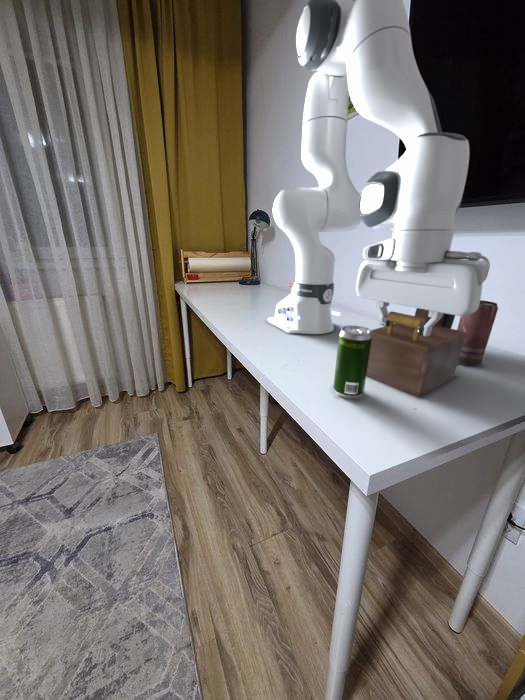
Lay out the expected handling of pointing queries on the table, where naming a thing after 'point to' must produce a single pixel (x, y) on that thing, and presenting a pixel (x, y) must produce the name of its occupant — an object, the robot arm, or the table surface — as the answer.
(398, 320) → the lid
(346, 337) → the beer can
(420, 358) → the chest
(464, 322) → the can
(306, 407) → the table surface
